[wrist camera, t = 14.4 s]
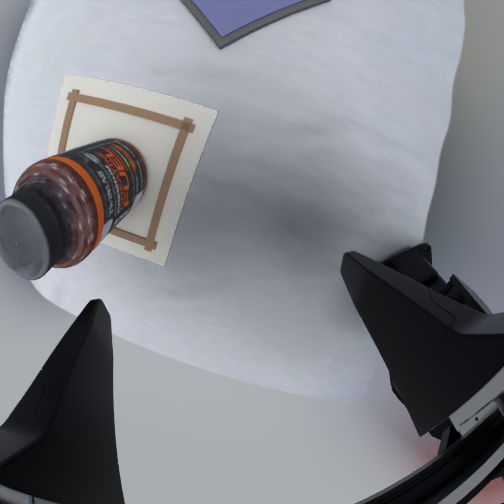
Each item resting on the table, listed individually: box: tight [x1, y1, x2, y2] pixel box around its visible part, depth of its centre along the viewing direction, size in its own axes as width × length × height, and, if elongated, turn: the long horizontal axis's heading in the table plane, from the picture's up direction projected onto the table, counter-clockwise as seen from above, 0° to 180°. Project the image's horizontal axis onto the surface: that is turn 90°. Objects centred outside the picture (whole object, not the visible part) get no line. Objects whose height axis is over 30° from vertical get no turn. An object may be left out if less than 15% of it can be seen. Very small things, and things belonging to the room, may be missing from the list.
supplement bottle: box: [0, 138, 147, 280], centre depth 14 cm, size 6×6×11 cm
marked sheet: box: [46, 74, 219, 266], centre depth 18 cm, size 13×13×1 cm
